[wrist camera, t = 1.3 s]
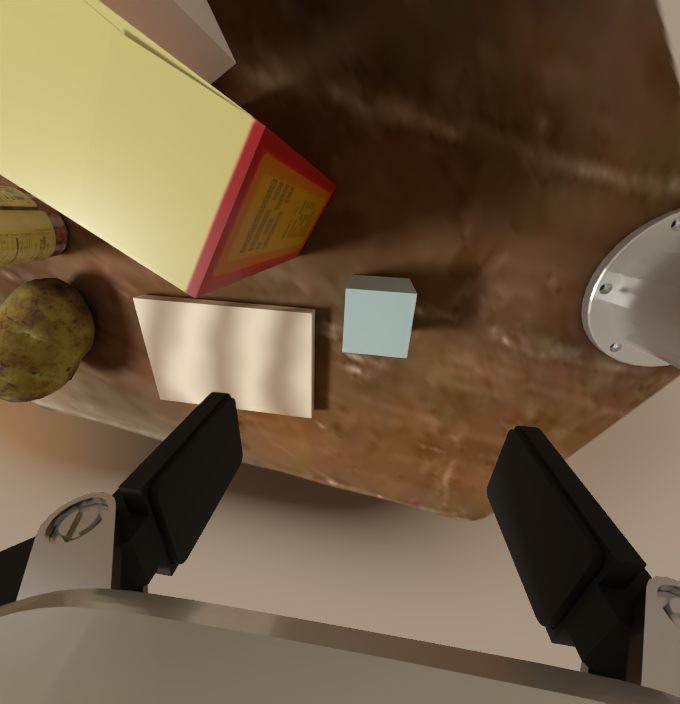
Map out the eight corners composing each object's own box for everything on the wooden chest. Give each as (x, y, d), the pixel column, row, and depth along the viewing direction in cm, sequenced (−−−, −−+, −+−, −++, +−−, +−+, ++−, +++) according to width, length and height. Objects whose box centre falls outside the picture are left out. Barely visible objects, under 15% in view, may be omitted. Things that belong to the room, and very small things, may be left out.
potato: (131, 324, 31) (55, 355, 24) (84, 384, 36) (8, 425, 28) (64, 264, 29) (-41, 278, 22) (23, 336, 34) (-74, 367, 26)
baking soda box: (205, 191, 24) (-56, 145, 10) (234, 108, 21) (-68, -125, 7) (298, 256, 25) (189, 301, 11) (337, 185, 23) (260, 122, 8)
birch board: (315, 308, 27) (311, 313, 26) (314, 409, 32) (311, 418, 31) (144, 294, 29) (132, 298, 28) (169, 392, 34) (160, 399, 33)
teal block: (409, 278, 25) (417, 293, 20) (401, 331, 27) (406, 358, 22) (353, 274, 25) (345, 288, 20) (350, 326, 28) (342, 351, 22)
